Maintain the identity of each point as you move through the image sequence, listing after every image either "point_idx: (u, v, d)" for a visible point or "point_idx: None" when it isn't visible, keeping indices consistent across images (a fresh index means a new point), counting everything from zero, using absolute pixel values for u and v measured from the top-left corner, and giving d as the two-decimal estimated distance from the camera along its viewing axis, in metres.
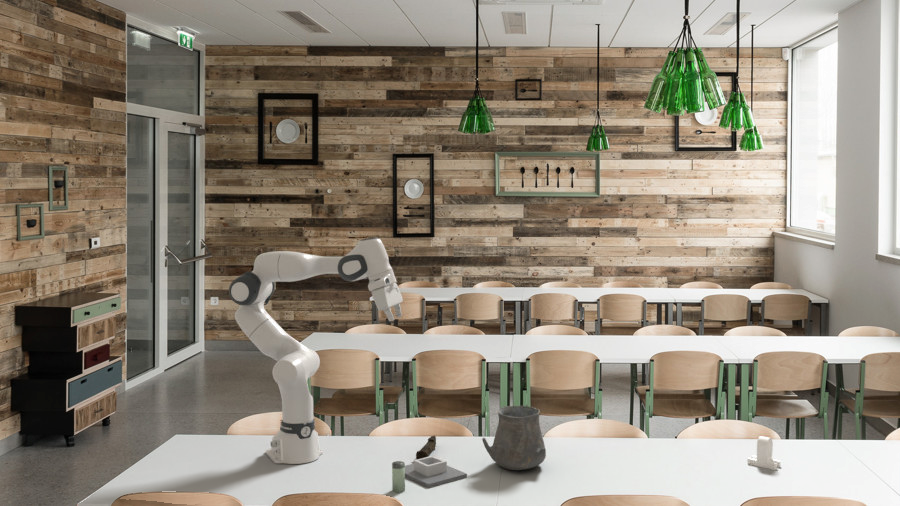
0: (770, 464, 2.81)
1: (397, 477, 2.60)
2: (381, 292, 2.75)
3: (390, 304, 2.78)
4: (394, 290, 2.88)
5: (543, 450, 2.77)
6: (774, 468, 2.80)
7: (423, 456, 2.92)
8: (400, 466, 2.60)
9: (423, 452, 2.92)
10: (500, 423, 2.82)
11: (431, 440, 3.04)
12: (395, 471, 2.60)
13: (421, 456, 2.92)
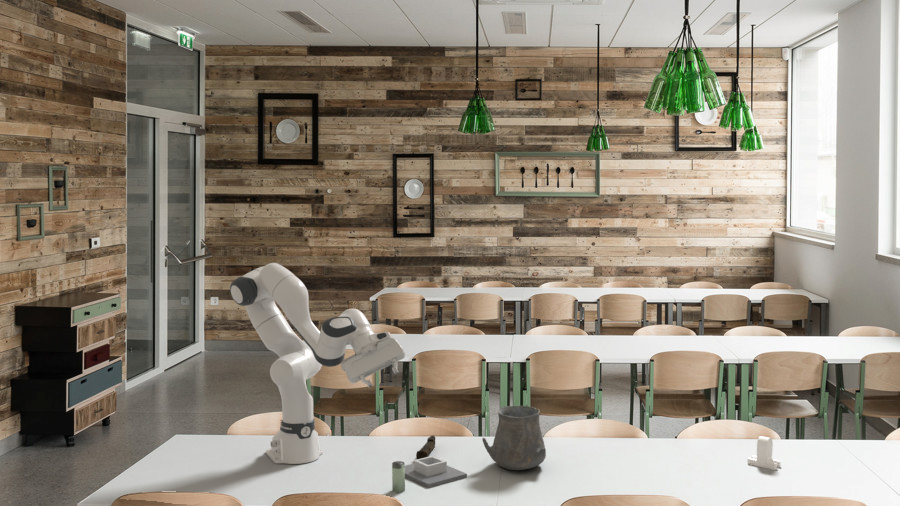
0: (770, 464, 2.81)
1: (397, 477, 2.60)
2: None
3: None
4: None
5: (543, 450, 2.77)
6: (774, 468, 2.80)
7: (423, 456, 2.92)
8: (400, 466, 2.60)
9: (423, 452, 2.92)
10: (500, 423, 2.82)
11: (431, 440, 3.04)
12: (395, 471, 2.60)
13: (421, 456, 2.92)
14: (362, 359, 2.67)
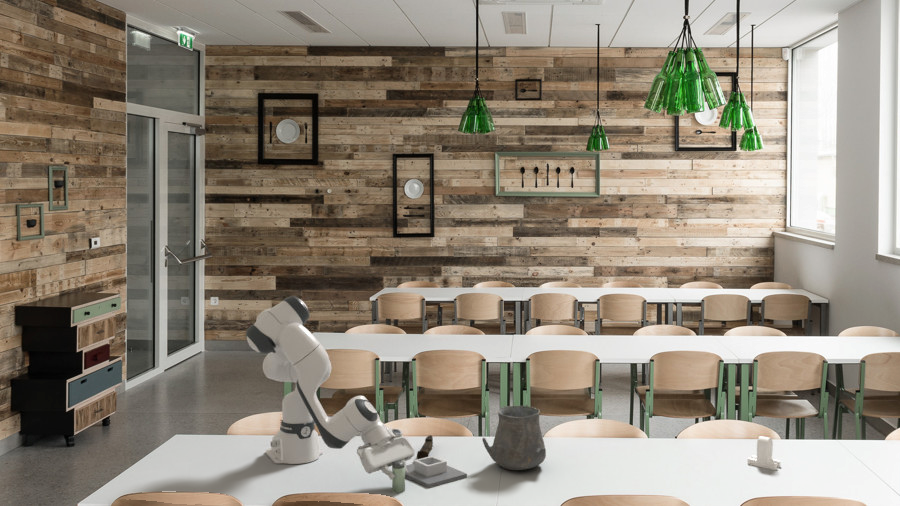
0: (770, 464, 2.81)
1: (397, 477, 2.60)
2: None
3: None
4: None
5: (543, 450, 2.77)
6: (774, 468, 2.80)
7: (424, 456, 2.92)
8: (400, 466, 2.60)
9: (424, 452, 2.92)
10: (500, 423, 2.82)
11: (429, 440, 3.04)
12: (395, 471, 2.60)
13: (422, 456, 2.92)
14: (380, 451, 2.63)
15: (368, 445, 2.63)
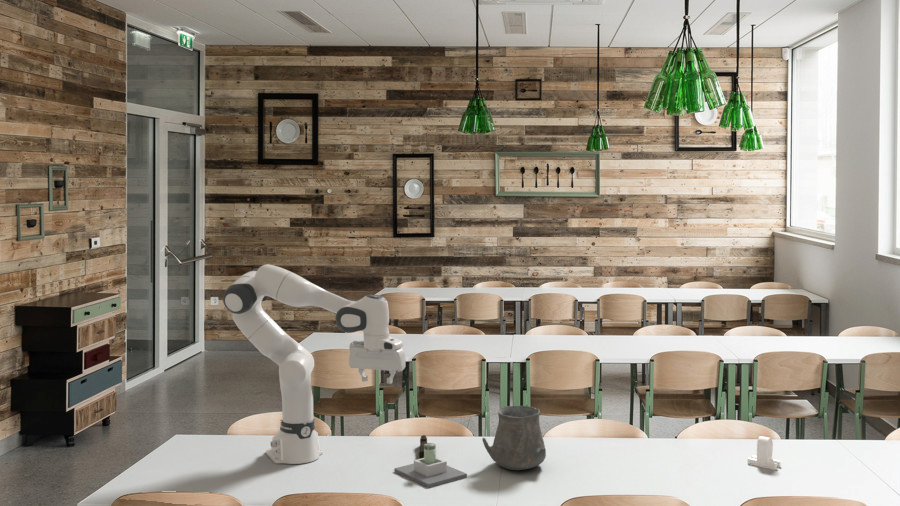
0: (770, 464, 2.81)
1: (431, 458, 2.75)
2: (403, 352, 2.76)
3: None
4: None
5: (543, 450, 2.77)
6: (774, 468, 2.80)
7: None
8: (433, 447, 2.76)
9: None
10: (500, 423, 2.82)
11: (424, 440, 3.05)
12: (429, 452, 2.75)
13: None
14: (366, 354, 2.78)
15: (362, 344, 2.80)
